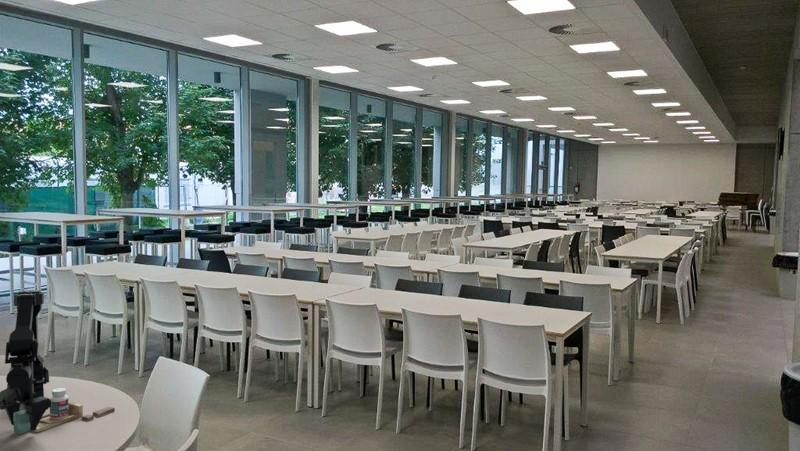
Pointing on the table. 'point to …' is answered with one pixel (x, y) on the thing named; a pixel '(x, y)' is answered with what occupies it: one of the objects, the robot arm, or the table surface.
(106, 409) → the broken walnut strip
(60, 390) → the pill bottle
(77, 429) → the table surface
